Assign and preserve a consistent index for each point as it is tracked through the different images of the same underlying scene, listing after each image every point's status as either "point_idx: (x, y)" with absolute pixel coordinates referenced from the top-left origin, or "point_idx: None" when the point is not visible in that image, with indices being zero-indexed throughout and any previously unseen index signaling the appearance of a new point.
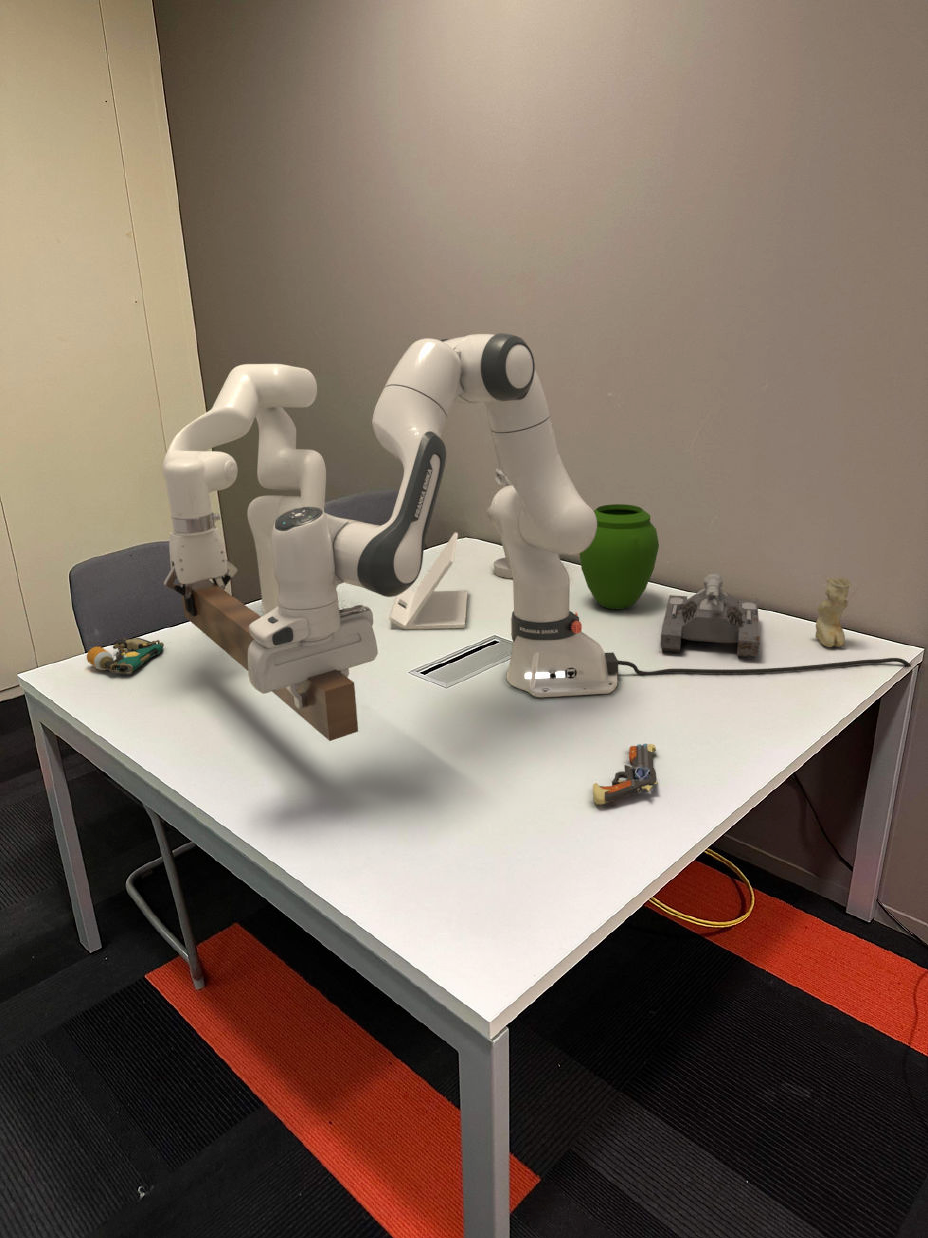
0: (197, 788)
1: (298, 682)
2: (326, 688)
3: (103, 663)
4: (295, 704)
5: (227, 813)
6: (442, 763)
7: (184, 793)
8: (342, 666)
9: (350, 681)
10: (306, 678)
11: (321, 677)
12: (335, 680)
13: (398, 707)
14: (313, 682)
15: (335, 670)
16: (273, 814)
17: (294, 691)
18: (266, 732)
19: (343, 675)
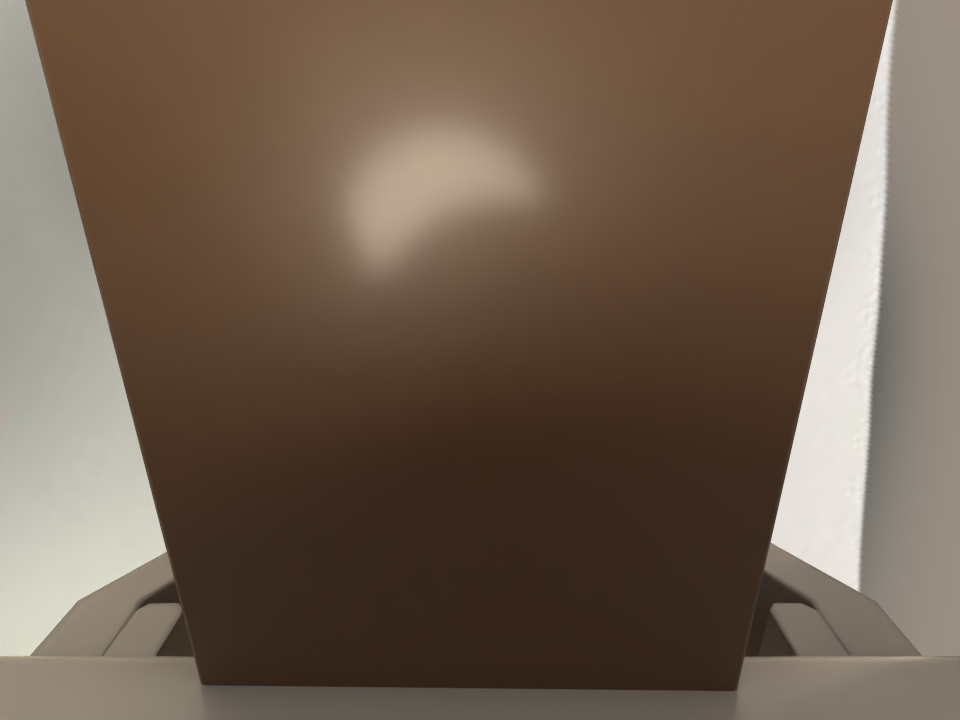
0: (812, 530)
1: (879, 664)
2: (791, 12)
3: None
4: None
5: (830, 350)
6: (34, 173)
7: (855, 527)
8: (59, 703)
9: (79, 21)
10: (757, 686)
11: (547, 584)
12: (387, 307)
13: (66, 593)
14: (775, 500)
15: (221, 666)
16: None
17: (825, 592)
18: None
19: (148, 421)
